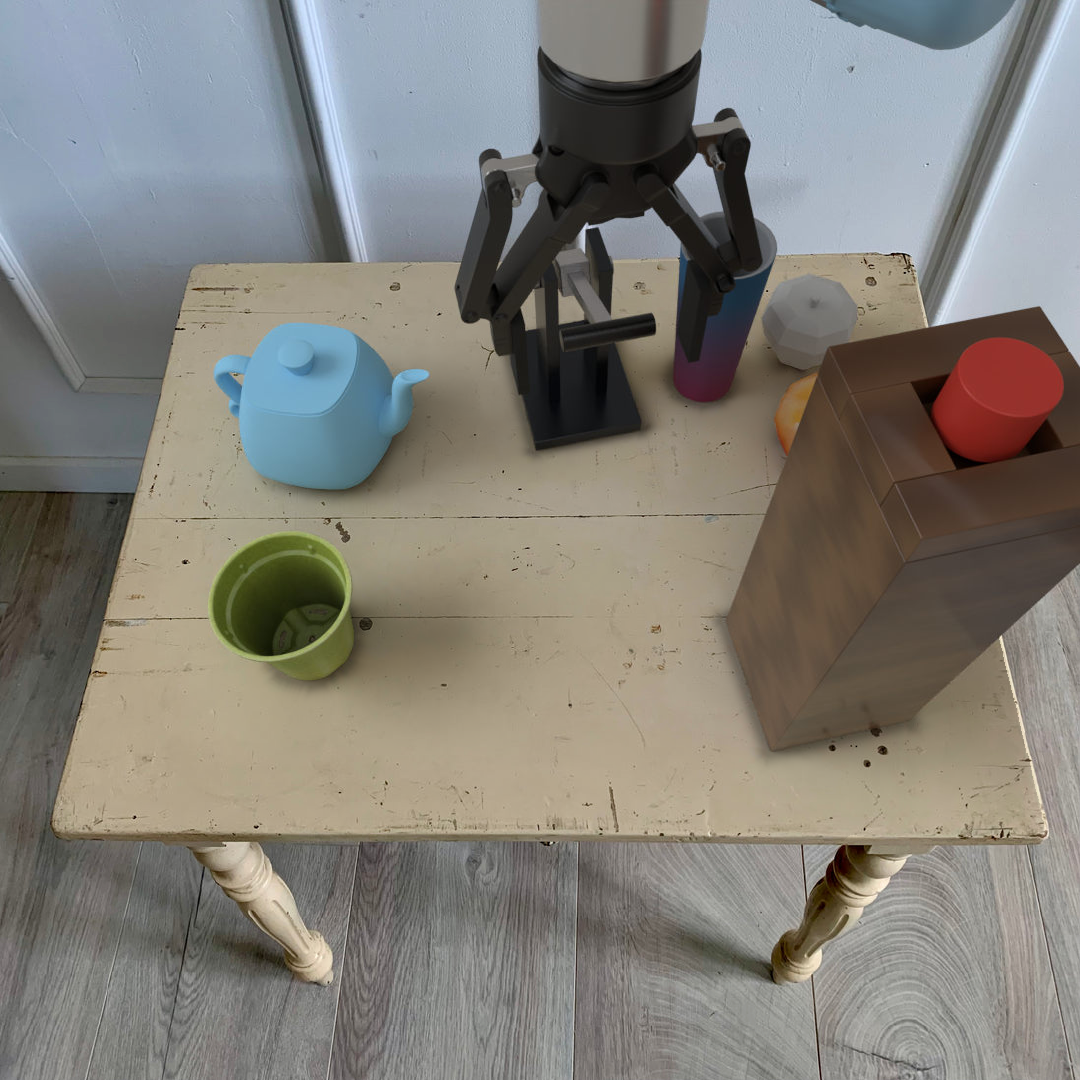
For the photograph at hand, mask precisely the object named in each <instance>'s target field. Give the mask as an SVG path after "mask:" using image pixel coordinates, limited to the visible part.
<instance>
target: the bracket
mask: <svg viewBox="0 0 1080 1080" xmlns="http://www.w3.org/2000/svg"><path fill="white" fill-rule="evenodd" d="M584 232H585V233H584V237H585V238H584V254H585V255H586V257H587V258H588V260H589V263H590V275H591V286H592V287H593V289H594V291H595V292H596V294H597V295H598V297H599V299H600V300H601V302H602V303H603V305H604V307H605V308H606V310H607V311H608V313H609V315H610V316H611V317H612V304H613V303H612V302H613V281H614V274H615V267H614V266H615V265H614V260H613V258H612V255H609V253H608V251H607V248H606V245H605V242H604V238H603V236H602V233H601V230H600V228H599V226H596V227H591V228H586V229H584ZM533 291H534V310H535V328H533V329H526V343H527V358H528V372H529V387H530V393H528V394H523V395H520V396H521V401H522V404H523V408H524V412H525V416H526V419H527V423H528V424H527V425H528V427H529V431H530V436H531V438H532V443H533V446H534V450H535V451H543V450H547V449H552V448H557V447H563V446H568V445H572V444H573V445H574V444H577V443H583V442H589V441H595V440H598V439H603V438H609V437H613V436H618V435H625V434H629V433H634V432H639V431H642V425H643V424H642V423H643V422H642V418H641V416H640V412H639V410H638V407H637V404H636V400H635V398H634V395H633V392H632V388H631V386H630V383H629V382H630V381H629V379H628V377H627V373H626V371H625V367H624V364H623V361H622V359H621V355H620V352H619V350H618V347H617V343H611V344H606V345H601V346H595V347H590V348H585V349H579V350H574V351H569V352H563V350H562V347H561V343H560V336H559V331H560V329H565V328H571V327H576V326H581V325H587V324H590V322H589V321H588V319H587V317H586V315H585V313H584V312H583V319H581V320H576V321H571V322H565V323H560V313H559V308H560V306H559V289H558V278H557V275H556V271H555V268H554V265H553V262H552V263H551V265H550V266H549V268H548V269H547V270H546V272H545V273H544V275H543V276H542V278H541V279H540V280H539V282H538V283H537V285H536V286H535V288H534V289H533Z"/></svg>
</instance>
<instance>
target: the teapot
mask: <svg viewBox="0 0 1080 1080" xmlns="http://www.w3.org/2000/svg"><path fill="white" fill-rule="evenodd" d="M231 373H232V374H233V373H234V374H240V375H244V377H243V380H242V381H243V382H242V384H241V383H240V382H239V381H238V380H237V379H236V378H235V377H234V376H232V374H231ZM429 377H430V372H429V371H427V370H426V369H421V368H411V369H405V370H403V371H401V372H399V373H398V374H397V375H396V376H395V377H394V376H393V374H392V372H391V370H390V368H389V366H388V365H387V363H386V362H385V361H384V359H383V358H382V356H381V355H380V354H379V353H378V351H376V350H375V349H374V347H372V346H371V345H370V344H368V343H367V341H365V340H364V339H363V338H362V337H360V336H359V335H358V334H356V333H354V332H353V331H351V330H349V329H346V328H344V327H339V326H333V325H327V324H320V323H310V322H309V323H308V322H287V323H281V324H279V325H277V326H276V327H274V328H273V329H271V330H270V331H269V332H268V333H267V334H266V335H265V336H264V337H263V339H262V340H261V341H260V343H259V344H258V345H257V347H256V348H255V350H254V352H253V354H252V355H251V356H247V355H242V354H228V355H226V356H223V357H222V358H220V359H219V360H218V362H216V363H215V366H214V369H213V380H214V382H215V384H216V385H217V387H218V388H219V389H220V390H221V391H222V392H223V393H224V395H226V396H227V397H228V398H229V401H228V404H227V405H228V410H229V413H230V414H231V415H232V416H234V418H237V419H238V427H239V428H238V429H239V436H240V440H241V444H242V447H243V452H244V454H245V457H246V459H247V461H248V463H249V465H250V466H251V467H252V468H253V469H254V470H255V472H256V473H258V475H260V476H263V477H264V478H267V479H270V480H272V481H275V482H279V483H281V484H282V483H283V484H287V485H289V486H295V487H300V488H305V489H315V490H317V489H318V490H346V489H351V488H353V487H355V486H357V485H359V484H361V483H362V482H364V481H365V480H366V479H367V478H368V477H369V476H370V475H371V474H372V473H373V471H375V469H376V468H377V466H378V465H379V463H380V462H381V460H382V459H383V457H384V455H385V454H386V452H387V451H388V449H389V447H390V445H391V442H392V440H393V438H394V436H395V435H398V434H399V433H401V432H402V431H403V430H404V429H405V428H406V426H407V425H408V423H409V422H410V420H411V418H412V414H413V409H414V396H413V387H414V386H415V385H417V384H419V383H421V382H423V381H425V380H427V379H428V378H429Z"/></svg>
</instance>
